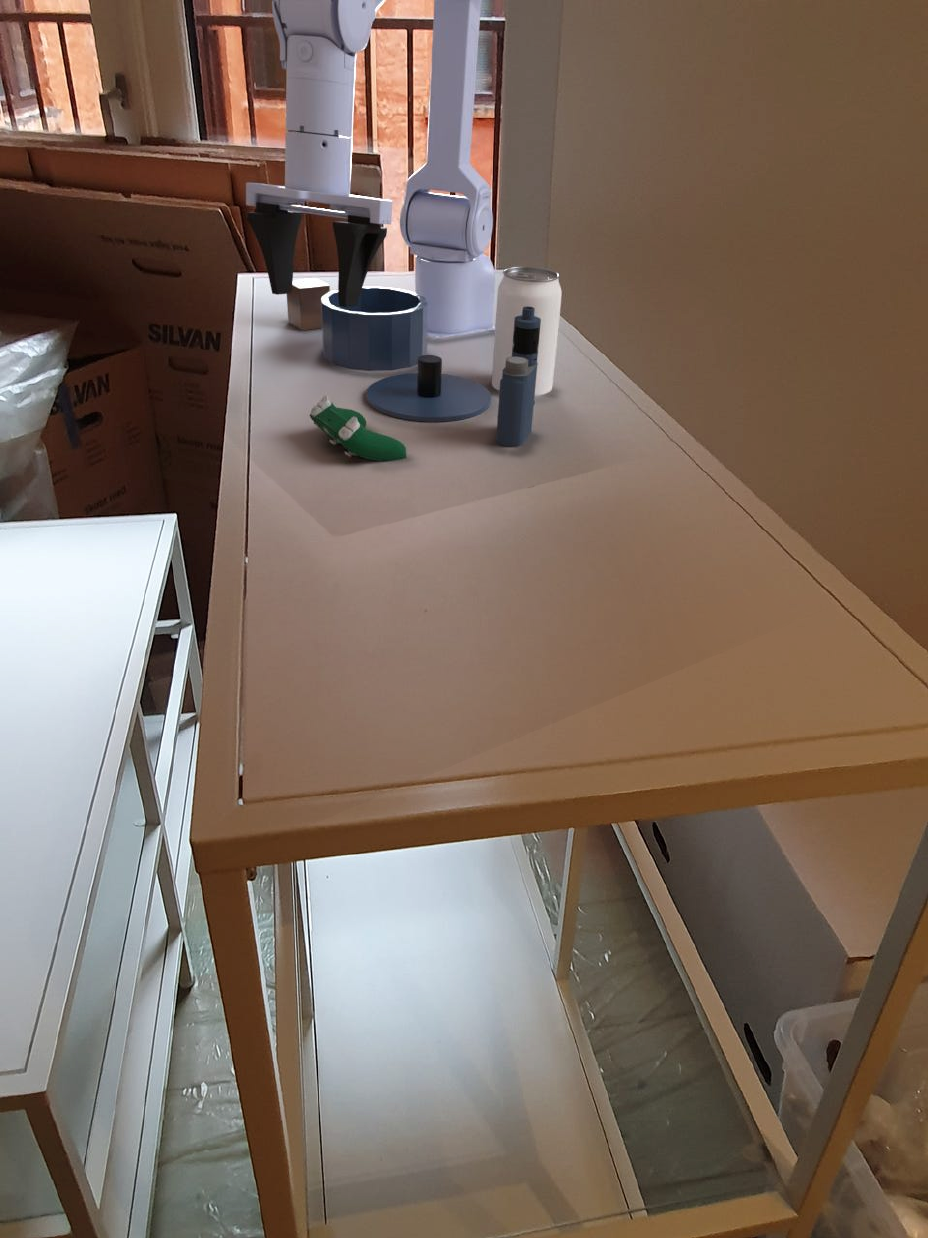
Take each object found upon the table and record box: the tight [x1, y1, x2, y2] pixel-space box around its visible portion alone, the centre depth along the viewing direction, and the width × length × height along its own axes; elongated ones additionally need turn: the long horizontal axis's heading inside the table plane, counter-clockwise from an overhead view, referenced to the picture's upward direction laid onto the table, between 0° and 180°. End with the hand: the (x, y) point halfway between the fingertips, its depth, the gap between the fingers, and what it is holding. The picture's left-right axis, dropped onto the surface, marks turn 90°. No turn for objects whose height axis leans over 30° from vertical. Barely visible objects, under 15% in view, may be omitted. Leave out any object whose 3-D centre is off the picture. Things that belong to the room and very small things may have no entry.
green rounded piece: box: [309, 395, 407, 462], centre depth 81 cm, size 9×4×6 cm
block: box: [286, 277, 331, 332], centre depth 112 cm, size 4×4×5 cm
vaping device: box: [495, 306, 541, 448], centre depth 82 cm, size 3×5×12 cm, turn 161°
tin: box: [321, 286, 428, 372], centre depth 102 cm, size 12×12×6 cm
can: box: [491, 266, 563, 397], centre depth 94 cm, size 6×6×12 cm
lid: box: [366, 354, 492, 423], centre depth 91 cm, size 13×13×5 cm
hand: (314, 299), depth 85 cm, fingers open, 7 cm apart
